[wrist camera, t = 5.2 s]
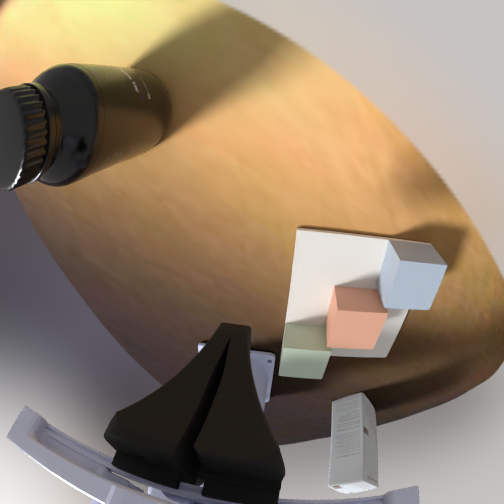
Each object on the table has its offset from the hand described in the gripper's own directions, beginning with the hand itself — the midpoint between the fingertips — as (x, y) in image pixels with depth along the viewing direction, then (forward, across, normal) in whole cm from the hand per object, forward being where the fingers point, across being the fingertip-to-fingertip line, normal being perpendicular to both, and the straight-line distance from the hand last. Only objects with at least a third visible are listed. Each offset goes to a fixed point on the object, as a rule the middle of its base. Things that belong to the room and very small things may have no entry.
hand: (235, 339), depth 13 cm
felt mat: (+10, -8, +5) cm, 14 cm away
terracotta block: (+10, -8, +5) cm, 13 cm away
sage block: (+10, -4, +10) cm, 14 cm away
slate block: (+10, -12, 0) cm, 15 cm away
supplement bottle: (+10, +10, -10) cm, 17 cm away
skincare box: (+10, -13, +22) cm, 27 cm away
